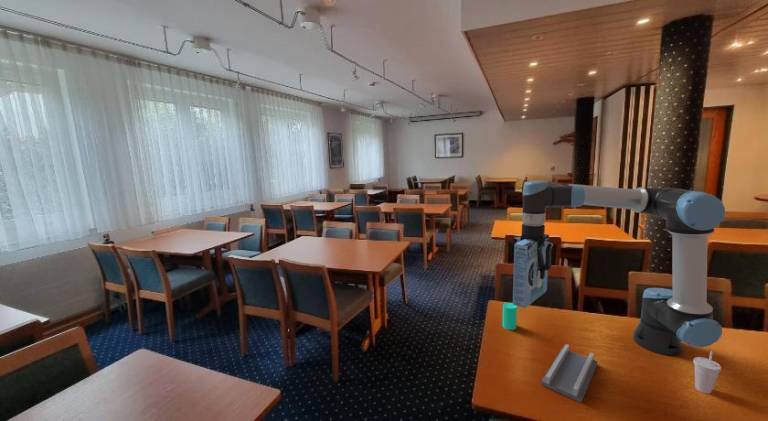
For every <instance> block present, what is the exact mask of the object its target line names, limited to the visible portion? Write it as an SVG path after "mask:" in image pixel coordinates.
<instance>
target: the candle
mask: <svg viewBox="0 0 768 421" xmlns="http://www.w3.org/2000/svg"><path fill="white" fill-rule="evenodd" d="M517 314H518V306H517V305H514V304H513V302H504V303H503V304H502V327H503V329H505V330H507V329H508V331H515V330H516V329H517V317H518V315H517ZM514 329H515V330H514Z"/></svg>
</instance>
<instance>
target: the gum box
mask: <svg viewBox="0 0 768 421" xmlns="http://www.w3.org/2000/svg"><path fill="white" fill-rule="evenodd" d="M544 238H545V240H546V241H548V242H550V235H549V234H545V233H544ZM537 246H538V241H536V240H530V239H524V240H522V241H520V242H518V243H516V244H515V248H514V247H513V257H514V263H513V285H512V286H513V288H512V303H513V304H514V305H516V306H517V307H520V308H523V309H526V308H528V307H529V306H530V305H531V304H533V303H534V302H535V301H536V300H537V299H538V298H540V297H541V296H543V295H544V294H545V293H546V292H547V290H548V274H549V273H548V271H549V270H545V277H544V279H542V285H541V286H540V287H539V288H537V272H538V270H539V269H540V268H539V264H538V253H537ZM541 248H542V255H543V259H544V263H545V259H546V247H545V244H543V245H542V246H541ZM539 249H540V248H539Z"/></svg>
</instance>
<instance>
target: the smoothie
mask: <svg viewBox="0 0 768 421" xmlns="http://www.w3.org/2000/svg"><path fill="white" fill-rule="evenodd" d="M712 359H713V351H712V350H710V352H709V358H706V357H703V356H702V357H700V356H697V357H694V358H693V361H692V363H693V364H694V388H695V389H696V390H697V391H699V392H701V393H704V394H709V395H710V394H711V393H712V392H713V388H714V386H715V383H716V381H717V378H718V376H719V373H720V372H721V371H722V366H721V365H720V364H719V363H718V362H716V361H715V360H712Z"/></svg>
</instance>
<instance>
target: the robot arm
mask: <svg viewBox="0 0 768 421" xmlns="http://www.w3.org/2000/svg"><path fill="white" fill-rule="evenodd" d="M522 187H523V190H522V212H521V213H522V216H521V218H522V219H521V221H522V224H521V235H520V236H516V237H513V239H512V243H513V249H514V248H515V244H516V243H518V242H520V241H522V240H524V239H530V240H536V241H538V246H537V253H538V264H539V268H540V269H539V270H538V272H537V288H539V287H540V286H541V285H542V279H544V277H545V270H548V271H549V270H550V269H551V268H552V250H553V249H552V248H553V246H554V243H553V241H552V242H550V241H549V242H548V241H546V240H545V238H544V234H545V233H546V232H545V228H546V227H545V226H546V225H545V224H546V209H547V208H579V207H582V206H583V205H584V206H591V207H592V206H593V207H594V206H595V207H604V208H612V209H613V208H614V209H624V210H625V209H626V210H632V211H633V212H634V213H639V214H645V215H649V216H652V217H656V218H659V219H663V220H665V222H666V224H665V226H666V232H668V233H669V234H670V235H671V238H672V242H671V244H672V247H671V249H672V251H671V252H672V254H671V256H672V259H671V260H672V261H671V264H672V266H671V267H672V268H671V269H672V276H671V277H672V285H671V286H672V289H669V288H664V287H662V288H661V287H648V288H646V289H644V290H643V294H642V297H641V298H642V303H641V311H640V312H641V313H640V321H639V323H637V326H636V327H635V329H634V330H633V335H632V339H633V341H634V342H635V343H636V344H638V345H639V346H640V347H641V348H643V349H646V350H648V351H651V352H654V353H658V354H661V355H667V356H676V355H680V354H681V353H683V343H684V344H686V345H688V346H690V347H694V348H705V347H709V346H712V345H713V344H714V343H716V342H718V341H719V339H721V337H722V334H723V327H722V326H721V325H720V323H719V322H718V321H716V320H715V319H713V316H714V313H713V312H714V310H713V309H714V308H713V306H711V304H709V303H708V302H707V297H708V296H707V292H708V291H707V289H708V281H707V280H708V237H709V236H710V235H712V234H713V233H715V228H717V227H718V226H720V223H722V222H723V221H724V220H725V216H726V209H725V205H724V203H723V201H721V200H720V198H718V197H717V196H715V195H713V194H710V193H707V192H704V191H700V190H690V189H689V190H688V189H681V188H677V187H643V186H640V187H637V188H635V189H634V188H622V187H621V188H620V187H609V186H599V185H597V186H596V185H586V184H576V183H575V184H574V183H564V182H562V183H561V182H554V181H545V180H527V181H525V182H524V183H523V186H522ZM543 244H545V247H546V259H545V263H544V259H543V255H542V248H541V246H542V245H543ZM539 248H540V249H539ZM512 258H513V261H512V263H513V264H514V256H513V257H512Z"/></svg>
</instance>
